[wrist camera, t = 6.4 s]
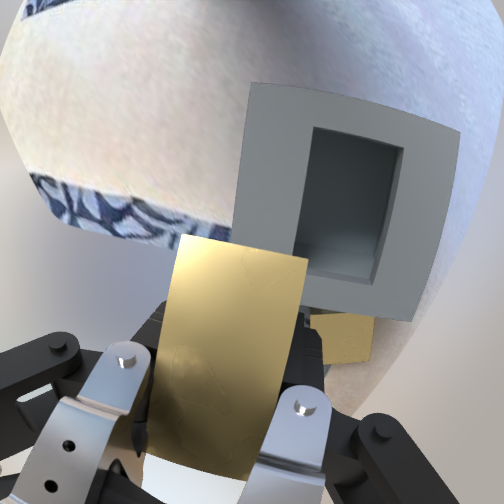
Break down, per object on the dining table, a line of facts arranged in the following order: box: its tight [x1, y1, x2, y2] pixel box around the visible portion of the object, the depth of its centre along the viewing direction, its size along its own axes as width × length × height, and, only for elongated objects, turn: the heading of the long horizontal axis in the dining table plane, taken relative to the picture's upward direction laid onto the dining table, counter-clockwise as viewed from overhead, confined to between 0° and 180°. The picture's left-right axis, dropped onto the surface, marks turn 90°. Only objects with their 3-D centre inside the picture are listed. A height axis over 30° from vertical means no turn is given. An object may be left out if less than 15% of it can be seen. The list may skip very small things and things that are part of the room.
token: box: [310, 307, 375, 365], centre depth 27 cm, size 6×6×3 cm
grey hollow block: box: [230, 82, 460, 322], centre depth 19 cm, size 12×12×10 cm
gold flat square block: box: [146, 234, 309, 481], centre depth 9 cm, size 6×3×6 cm, turn 171°
